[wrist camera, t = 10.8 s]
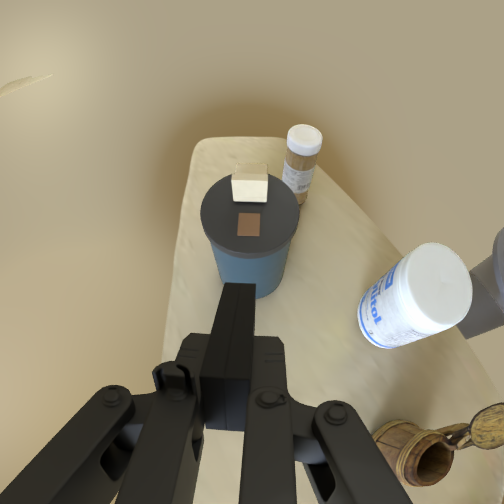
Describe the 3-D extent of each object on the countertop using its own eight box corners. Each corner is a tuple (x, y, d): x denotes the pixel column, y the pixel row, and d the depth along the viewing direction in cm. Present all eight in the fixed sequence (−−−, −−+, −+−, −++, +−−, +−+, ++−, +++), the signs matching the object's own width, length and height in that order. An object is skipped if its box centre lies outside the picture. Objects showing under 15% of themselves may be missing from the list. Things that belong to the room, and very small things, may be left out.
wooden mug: (447, 437, 30) (533, 440, 14) (374, 489, 28) (446, 531, 12) (429, 392, 34) (517, 378, 18) (352, 442, 31) (425, 470, 15)
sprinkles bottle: (302, 183, 49) (316, 122, 37) (310, 205, 47) (328, 144, 35) (275, 186, 49) (283, 123, 36) (282, 208, 47) (293, 147, 35)
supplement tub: (352, 286, 41) (395, 236, 28) (407, 284, 41) (462, 239, 28) (358, 354, 37) (412, 332, 23) (416, 347, 37) (481, 321, 24)
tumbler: (285, 302, 40) (301, 255, 26) (214, 299, 41) (193, 251, 27) (285, 239, 44) (297, 172, 31) (220, 237, 45) (206, 169, 31)
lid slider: (266, 202, 29) (268, 181, 26) (233, 201, 29) (231, 180, 26) (267, 168, 31) (268, 146, 28) (236, 167, 31) (235, 145, 28)
